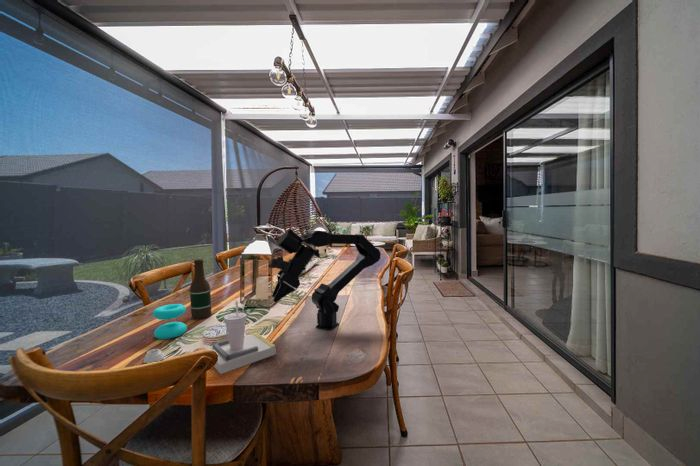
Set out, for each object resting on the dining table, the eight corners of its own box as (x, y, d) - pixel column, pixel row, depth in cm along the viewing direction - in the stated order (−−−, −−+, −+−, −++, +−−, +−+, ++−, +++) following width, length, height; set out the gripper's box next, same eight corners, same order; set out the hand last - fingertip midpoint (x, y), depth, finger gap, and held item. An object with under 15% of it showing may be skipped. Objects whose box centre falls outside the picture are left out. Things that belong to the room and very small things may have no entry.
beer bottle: (215, 315, 125) (212, 259, 124) (197, 321, 119) (194, 261, 117) (204, 312, 129) (202, 257, 128) (187, 317, 123) (183, 260, 121)
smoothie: (248, 350, 87) (246, 302, 86) (225, 354, 84) (222, 306, 83) (247, 341, 92) (245, 297, 92) (225, 345, 90) (223, 300, 89)
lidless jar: (167, 356, 89) (150, 357, 89) (166, 346, 89) (149, 347, 89) (157, 364, 84) (139, 365, 84) (157, 354, 84) (138, 355, 84)
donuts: (153, 305, 107) (185, 301, 112) (155, 332, 107) (186, 327, 113) (151, 313, 98) (186, 308, 103) (153, 342, 99) (187, 336, 104)
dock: (256, 340, 99) (255, 329, 99) (275, 354, 89) (275, 343, 89) (205, 355, 89) (204, 344, 89) (220, 374, 78) (219, 361, 78)
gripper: (279, 247, 111) (253, 283, 108) (283, 248, 93) (252, 290, 90) (303, 264, 114) (279, 299, 110) (311, 267, 96) (283, 309, 93)
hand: (273, 299), depth 101 cm, fingers open, 9 cm apart
